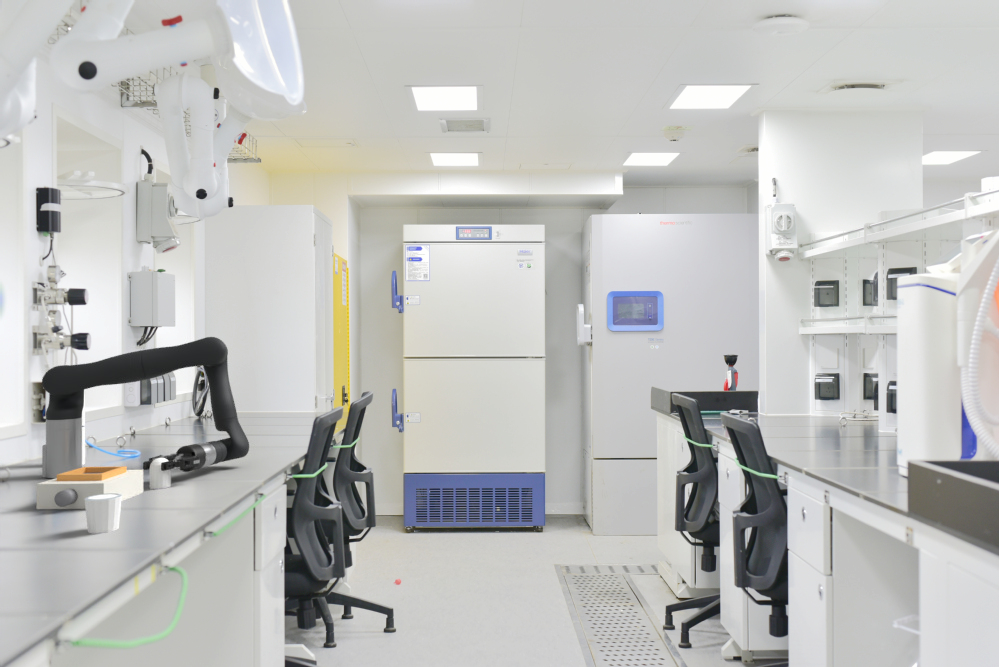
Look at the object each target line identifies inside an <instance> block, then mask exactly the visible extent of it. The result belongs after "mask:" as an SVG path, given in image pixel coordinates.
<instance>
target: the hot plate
mask: <svg viewBox="0 0 999 667" xmlns="http://www.w3.org/2000/svg"><path fill="white" fill-rule="evenodd" d="M127 467H128V466H82V468H79V469H75V470H72V471H68V472H65V473H61V474H58V475H57V478H51V479H49V480H46V481H42V482H39V483H36V510H86V508H85V498H86V497H90V496H94V495H99V494H110V493H113V494H121V495H122V501H121V502H124V501H125V500H129V499H131V498H134V497H136V496H138V495H141V494H143V493H144V469H127Z"/></svg>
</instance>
